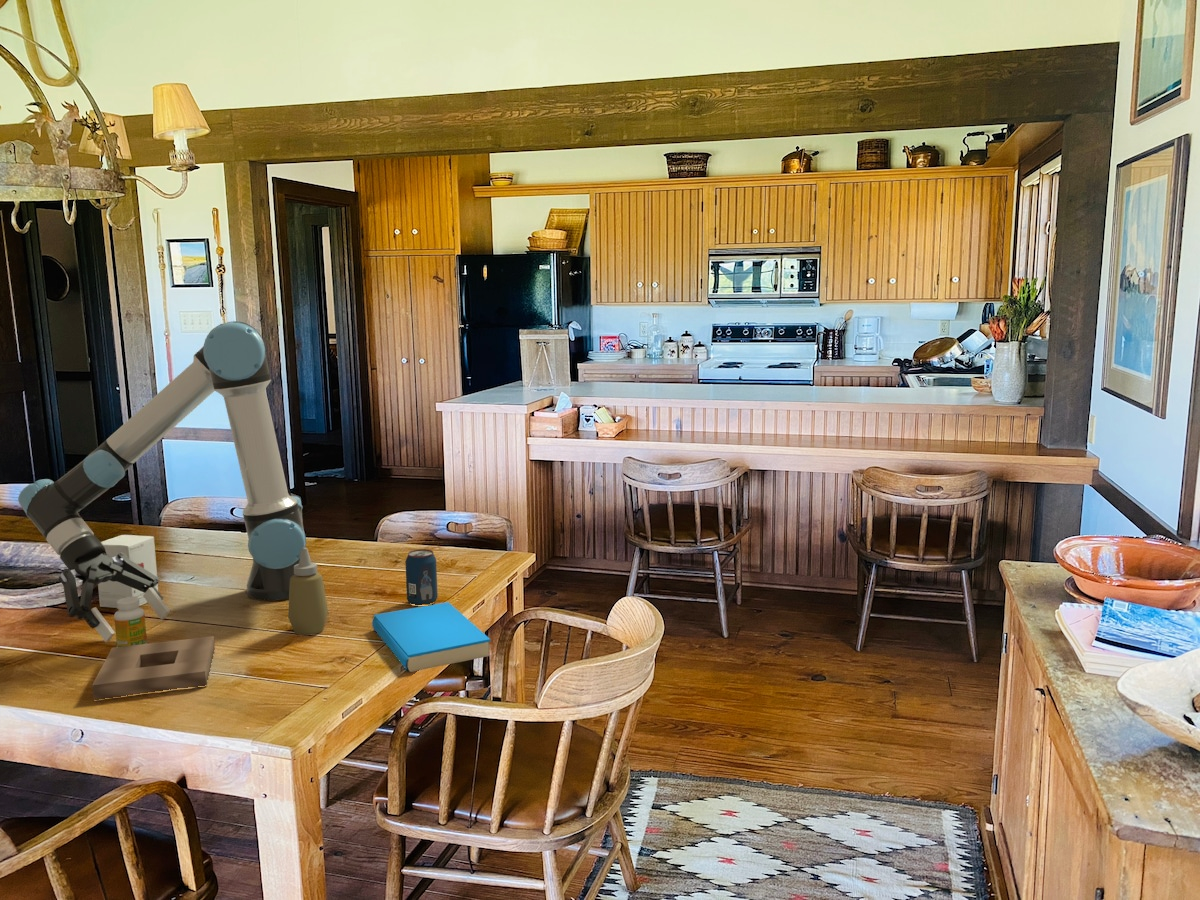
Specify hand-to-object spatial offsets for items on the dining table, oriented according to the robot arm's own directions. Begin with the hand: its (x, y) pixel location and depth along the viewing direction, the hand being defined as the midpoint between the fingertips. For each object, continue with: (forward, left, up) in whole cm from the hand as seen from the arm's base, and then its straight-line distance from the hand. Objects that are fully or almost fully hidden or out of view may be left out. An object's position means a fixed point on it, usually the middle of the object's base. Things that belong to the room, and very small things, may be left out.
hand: (139, 626), depth 177 cm
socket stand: (-5, +15, -5) cm, 17 cm away
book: (-55, +16, -5) cm, 58 cm away
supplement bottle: (+2, -2, -5) cm, 5 cm away
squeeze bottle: (-32, +1, -5) cm, 33 cm away
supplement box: (+7, -32, -5) cm, 33 cm away
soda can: (-57, -9, -5) cm, 58 cm away
